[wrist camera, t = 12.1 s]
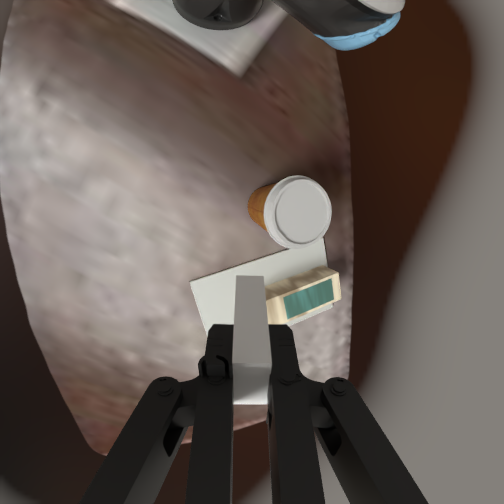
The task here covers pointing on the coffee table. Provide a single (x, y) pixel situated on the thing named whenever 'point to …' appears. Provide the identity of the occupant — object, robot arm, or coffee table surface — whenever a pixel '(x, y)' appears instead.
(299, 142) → the coffee table surface
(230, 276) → the mat
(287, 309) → the block
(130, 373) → the coffee table surface
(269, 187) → the disposable coffee cup
